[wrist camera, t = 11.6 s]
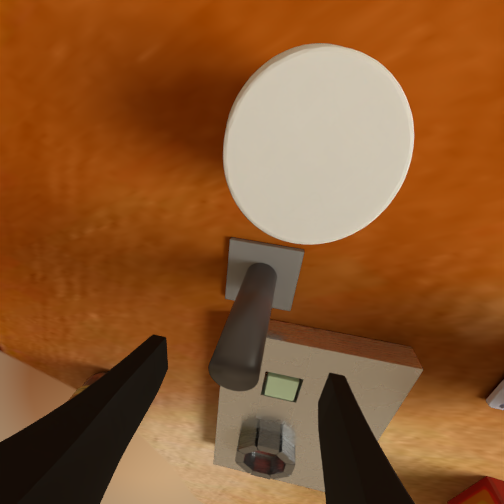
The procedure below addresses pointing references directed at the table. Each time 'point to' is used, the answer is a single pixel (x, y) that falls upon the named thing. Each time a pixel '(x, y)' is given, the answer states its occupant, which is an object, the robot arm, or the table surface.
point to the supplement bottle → (317, 143)
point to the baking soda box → (482, 493)
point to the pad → (281, 386)
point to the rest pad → (276, 256)
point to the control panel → (308, 400)
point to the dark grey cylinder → (245, 331)
